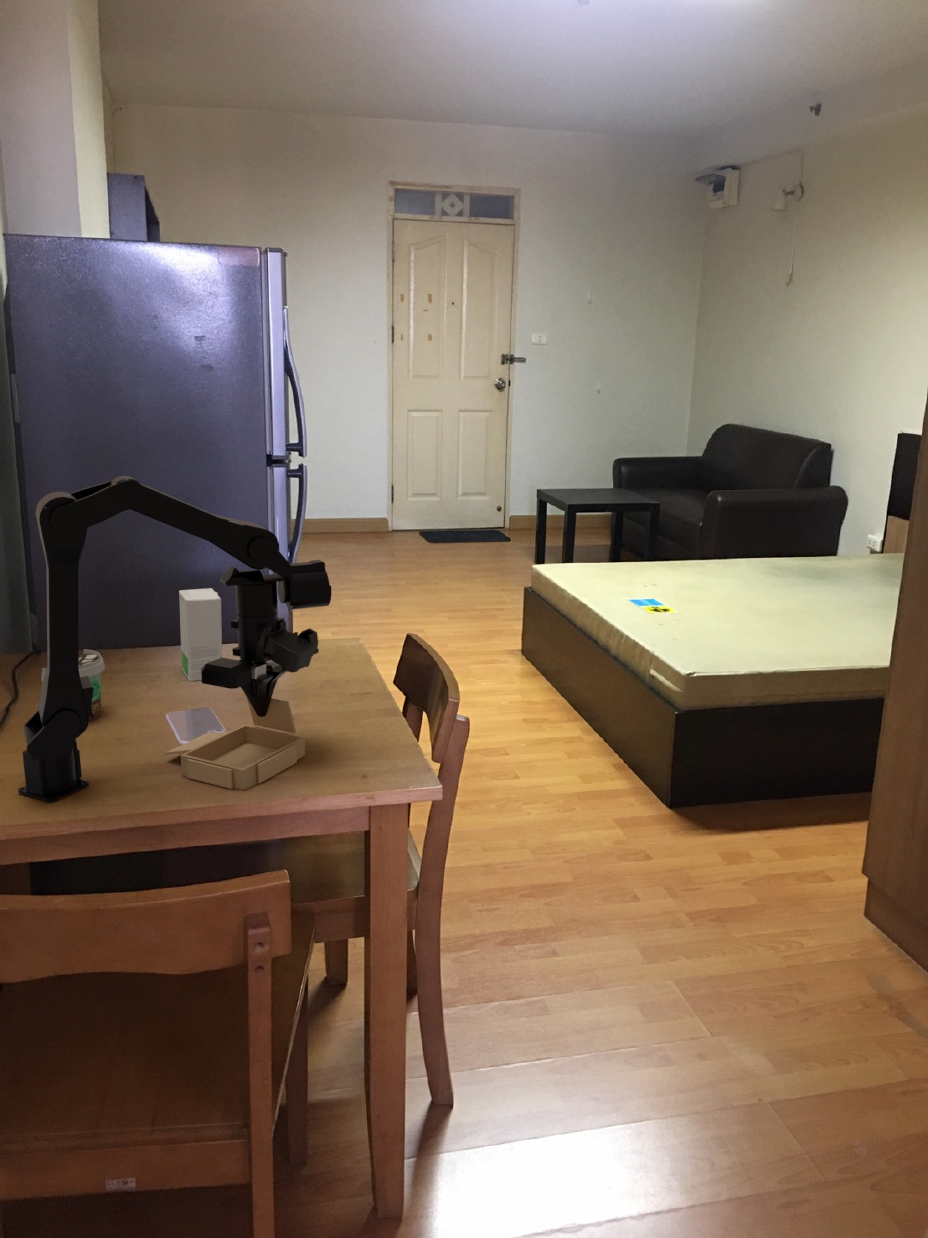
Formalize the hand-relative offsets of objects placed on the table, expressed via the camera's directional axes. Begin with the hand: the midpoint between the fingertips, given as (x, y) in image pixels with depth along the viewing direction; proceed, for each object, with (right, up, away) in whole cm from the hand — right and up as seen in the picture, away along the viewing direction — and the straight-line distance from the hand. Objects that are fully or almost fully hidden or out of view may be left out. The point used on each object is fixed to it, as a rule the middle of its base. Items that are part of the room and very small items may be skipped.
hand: (262, 716), depth 142 cm
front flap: (+1, -3, +3) cm, 4 cm away
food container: (-32, -2, +16) cm, 36 cm away
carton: (-2, -7, -2) cm, 7 cm away
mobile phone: (-13, -3, +14) cm, 19 cm away
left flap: (-7, -3, 0) cm, 8 cm away
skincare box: (-19, +4, +40) cm, 45 cm away
